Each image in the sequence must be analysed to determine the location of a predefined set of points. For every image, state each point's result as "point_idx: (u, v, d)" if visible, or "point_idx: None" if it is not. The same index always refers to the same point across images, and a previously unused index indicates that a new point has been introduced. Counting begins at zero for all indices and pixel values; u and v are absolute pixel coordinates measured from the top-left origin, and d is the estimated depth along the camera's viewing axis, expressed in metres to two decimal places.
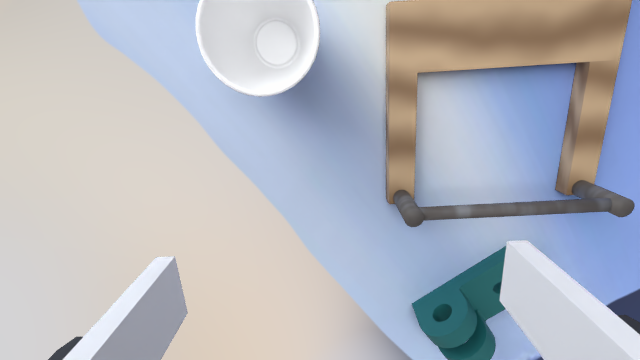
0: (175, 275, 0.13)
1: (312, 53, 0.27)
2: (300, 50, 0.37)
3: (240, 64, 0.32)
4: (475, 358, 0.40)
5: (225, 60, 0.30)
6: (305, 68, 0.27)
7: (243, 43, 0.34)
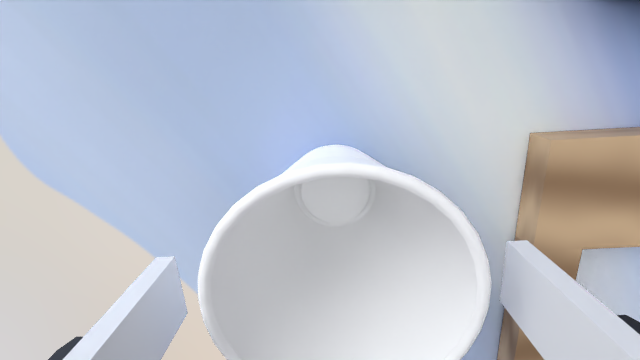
0: (175, 275, 0.13)
1: (465, 342, 0.12)
2: (375, 201, 0.21)
3: (280, 266, 0.17)
4: None
5: (257, 292, 0.15)
6: None
7: (281, 206, 0.19)
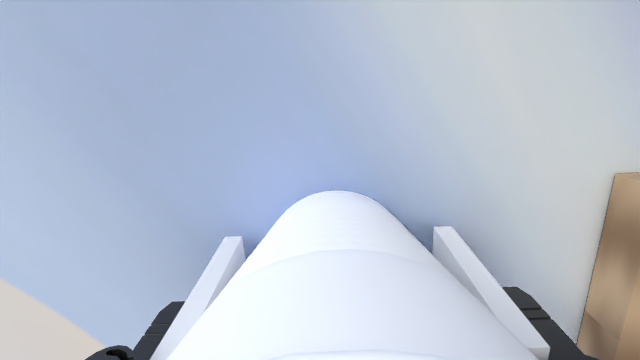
0: (242, 253, 0.14)
1: None
2: None
3: None
4: None
5: None
6: None
7: None
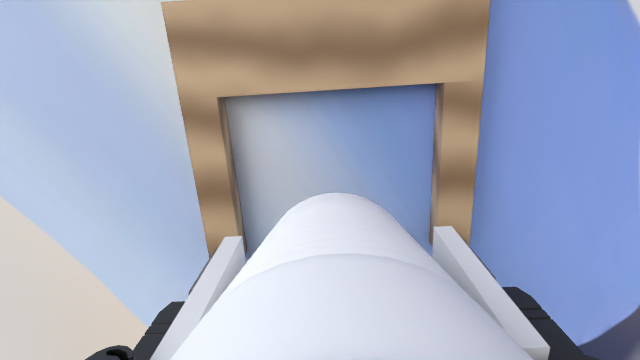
0: (242, 253, 0.14)
1: None
2: None
3: None
4: None
5: None
6: None
7: None
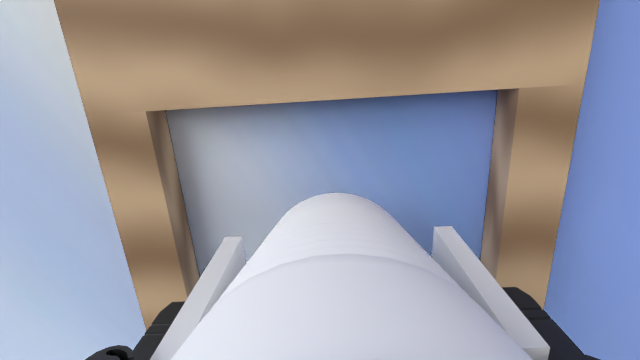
0: (242, 253, 0.14)
1: None
2: None
3: None
4: None
5: None
6: None
7: None
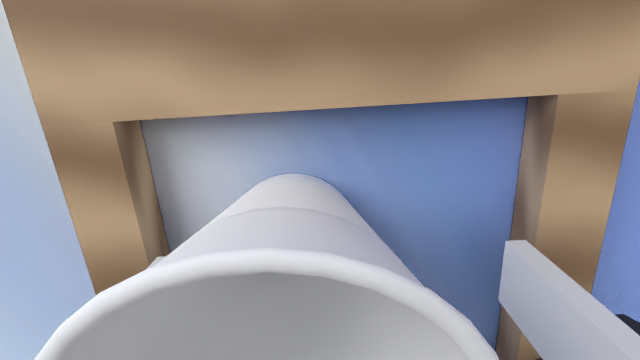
0: None
1: None
2: None
3: (213, 347, 0.13)
4: None
5: None
6: None
7: None
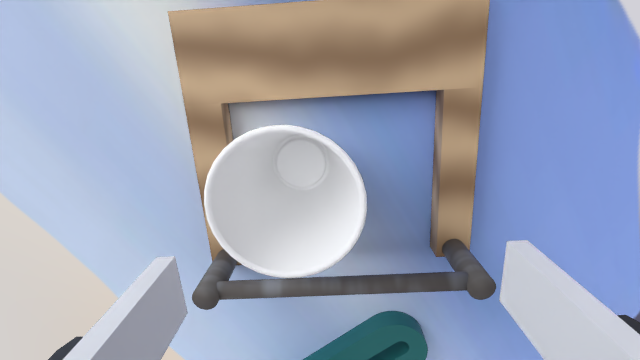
0: (175, 275, 0.13)
1: (356, 231, 0.20)
2: (329, 171, 0.30)
3: (258, 207, 0.26)
4: None
5: (241, 216, 0.24)
6: (346, 248, 0.21)
7: (261, 171, 0.28)
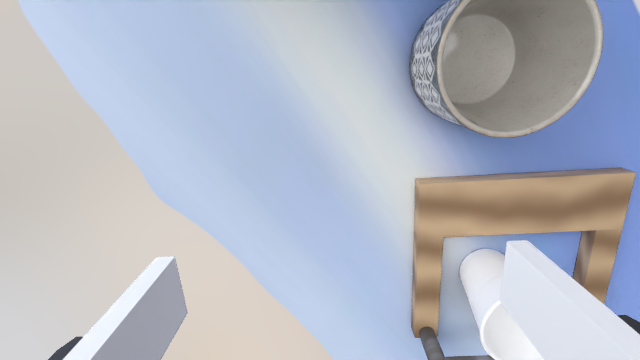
0: (175, 275, 0.13)
1: None
2: None
3: None
4: None
5: None
6: None
7: None
